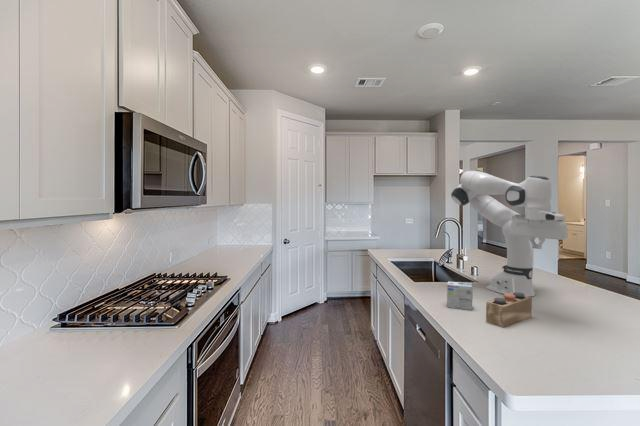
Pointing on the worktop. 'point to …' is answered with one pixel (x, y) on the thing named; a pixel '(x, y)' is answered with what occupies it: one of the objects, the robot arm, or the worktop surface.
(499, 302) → the plug near
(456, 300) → the light bulb box
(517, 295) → the plug far
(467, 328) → the worktop surface
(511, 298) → the plug mid
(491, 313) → the oak socket block
